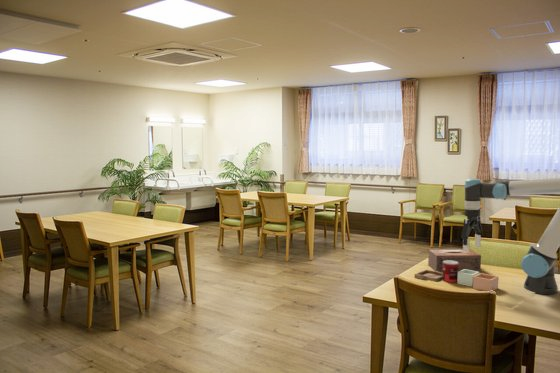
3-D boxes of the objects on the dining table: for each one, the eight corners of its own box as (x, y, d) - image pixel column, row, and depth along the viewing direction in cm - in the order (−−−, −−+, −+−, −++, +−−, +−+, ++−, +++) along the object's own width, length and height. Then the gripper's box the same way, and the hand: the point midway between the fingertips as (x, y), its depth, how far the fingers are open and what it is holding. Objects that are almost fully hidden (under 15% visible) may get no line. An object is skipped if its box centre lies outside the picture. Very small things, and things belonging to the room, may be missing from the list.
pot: (497, 289, 244) (498, 276, 244) (490, 293, 238) (491, 280, 238) (480, 286, 251) (480, 273, 250) (472, 289, 245) (473, 276, 244)
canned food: (445, 278, 264) (445, 259, 262) (460, 281, 258) (460, 261, 257) (440, 282, 258) (440, 262, 257) (455, 284, 253) (455, 264, 252)
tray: (447, 277, 266) (447, 274, 266) (436, 282, 257) (436, 278, 257) (426, 273, 275) (426, 269, 275) (414, 277, 266) (414, 274, 266)
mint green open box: (478, 284, 253) (479, 271, 252) (472, 288, 247) (472, 274, 247) (464, 281, 259) (464, 269, 258) (457, 284, 253) (457, 271, 252)
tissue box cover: (470, 265, 292) (470, 249, 291) (480, 272, 278) (481, 255, 277) (428, 265, 292) (428, 249, 291) (436, 272, 277) (436, 255, 276)
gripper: (476, 205, 260) (475, 244, 261) (454, 210, 243) (453, 251, 244) (489, 206, 254) (489, 246, 256) (468, 211, 237) (467, 254, 239)
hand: (471, 249), depth 250 cm, fingers open, 13 cm apart
